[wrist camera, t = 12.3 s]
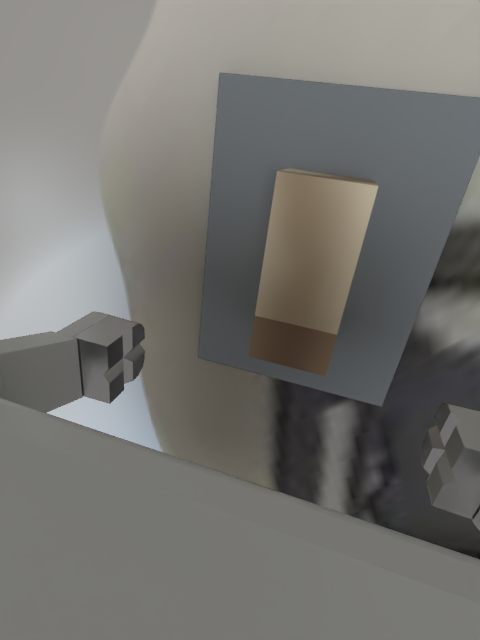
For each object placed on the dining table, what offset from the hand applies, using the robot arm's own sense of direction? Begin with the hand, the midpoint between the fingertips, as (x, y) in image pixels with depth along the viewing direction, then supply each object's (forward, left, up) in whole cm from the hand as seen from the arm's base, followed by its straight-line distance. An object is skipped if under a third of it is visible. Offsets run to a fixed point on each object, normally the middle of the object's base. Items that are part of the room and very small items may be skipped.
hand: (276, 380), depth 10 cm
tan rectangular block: (0, 0, -11) cm, 11 cm away
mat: (0, 0, -12) cm, 12 cm away
